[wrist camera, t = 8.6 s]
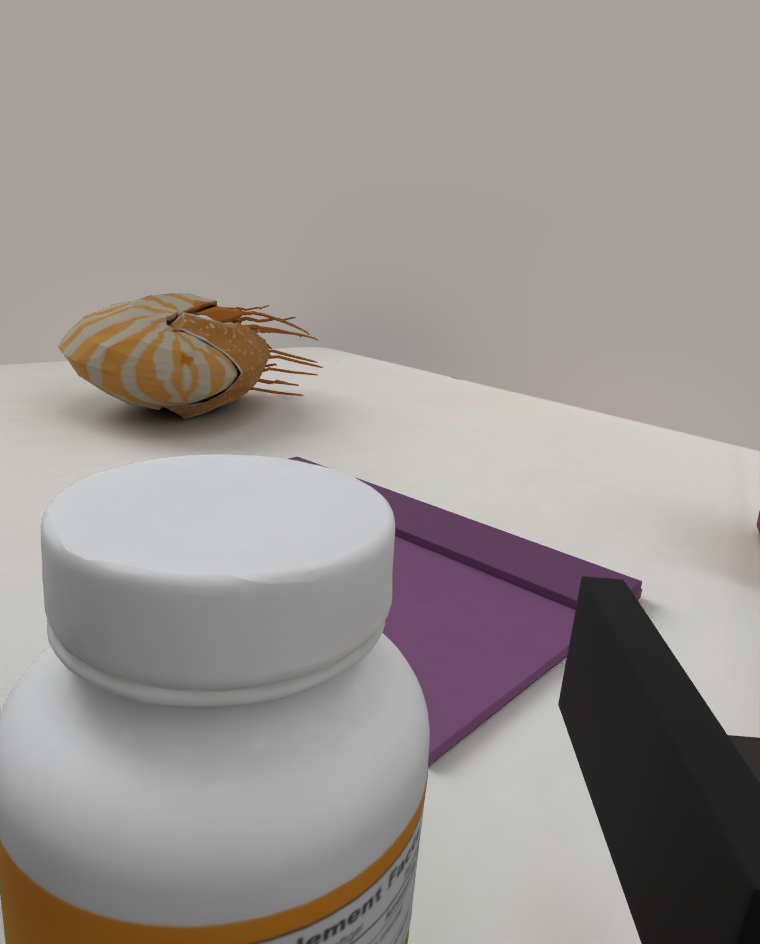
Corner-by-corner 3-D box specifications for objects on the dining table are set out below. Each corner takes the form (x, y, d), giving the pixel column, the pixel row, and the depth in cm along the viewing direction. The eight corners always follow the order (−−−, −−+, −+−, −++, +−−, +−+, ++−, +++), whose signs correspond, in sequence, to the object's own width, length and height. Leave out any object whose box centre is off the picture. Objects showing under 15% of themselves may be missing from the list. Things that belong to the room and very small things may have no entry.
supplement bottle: (3, 1015, 12) (-62, 459, 9) (292, 879, 15) (316, 426, 12) (76, 1456, 8) (0, 685, 5) (459, 1146, 11) (558, 549, 8)
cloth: (56, 528, 31) (55, 511, 30) (299, 469, 41) (300, 455, 41) (427, 767, 18) (430, 741, 18) (640, 597, 29) (644, 579, 28)
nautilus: (278, 383, 66) (380, 431, 55) (25, 382, 52) (96, 446, 42) (289, 295, 63) (397, 328, 53) (26, 271, 50) (102, 308, 39)
